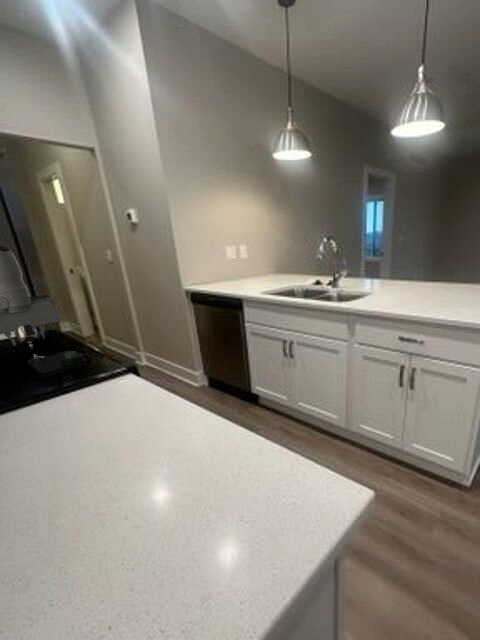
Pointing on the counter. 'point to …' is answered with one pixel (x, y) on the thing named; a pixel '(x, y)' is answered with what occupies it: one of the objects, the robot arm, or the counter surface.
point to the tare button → (70, 354)
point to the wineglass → (28, 337)
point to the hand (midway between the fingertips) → (29, 341)
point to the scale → (56, 364)
